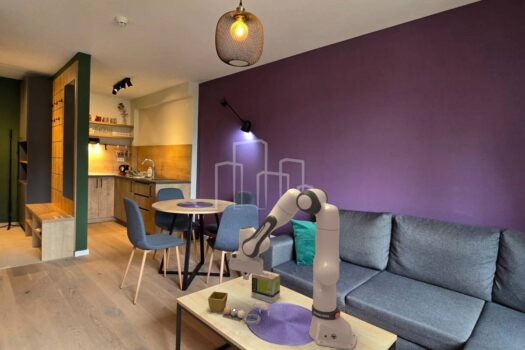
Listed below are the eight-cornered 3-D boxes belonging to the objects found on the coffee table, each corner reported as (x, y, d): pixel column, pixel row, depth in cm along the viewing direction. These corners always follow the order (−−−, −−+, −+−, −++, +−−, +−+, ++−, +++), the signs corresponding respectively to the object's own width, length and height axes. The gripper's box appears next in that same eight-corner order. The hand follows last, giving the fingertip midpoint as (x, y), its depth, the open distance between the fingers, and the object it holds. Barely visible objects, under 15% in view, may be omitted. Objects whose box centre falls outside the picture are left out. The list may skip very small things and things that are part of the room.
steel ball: (239, 315, 160) (239, 307, 160) (235, 318, 157) (235, 311, 156) (232, 313, 162) (232, 306, 162) (229, 316, 158) (229, 309, 158)
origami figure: (274, 312, 165) (274, 304, 165) (268, 319, 158) (268, 310, 158) (255, 307, 171) (255, 299, 170) (248, 314, 163) (248, 305, 163)
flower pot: (222, 316, 161) (222, 299, 160) (207, 314, 162) (207, 298, 162) (227, 308, 169) (228, 292, 169) (213, 306, 171) (213, 291, 170)
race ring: (262, 320, 157) (262, 316, 157) (255, 328, 149) (255, 324, 149) (248, 316, 161) (248, 312, 160) (240, 324, 153) (240, 320, 153)
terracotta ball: (232, 313, 162) (232, 306, 162) (228, 316, 158) (228, 309, 158) (226, 311, 164) (226, 304, 163) (222, 315, 160) (222, 307, 160)
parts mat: (246, 317, 160) (246, 315, 160) (240, 323, 154) (240, 321, 154) (228, 312, 165) (228, 310, 165) (221, 318, 158) (221, 316, 158)
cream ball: (246, 316, 158) (246, 309, 158) (242, 320, 155) (242, 313, 155) (239, 315, 160) (239, 307, 160) (235, 318, 156) (236, 311, 156)
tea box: (280, 297, 184) (280, 274, 183) (271, 304, 175) (272, 279, 174) (259, 291, 192) (260, 268, 191) (250, 297, 183) (251, 273, 182)
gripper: (265, 256, 166) (265, 280, 166) (233, 250, 174) (233, 274, 175) (260, 259, 160) (260, 285, 161) (227, 254, 168) (227, 278, 169)
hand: (245, 279), depth 168 cm, fingers closed
